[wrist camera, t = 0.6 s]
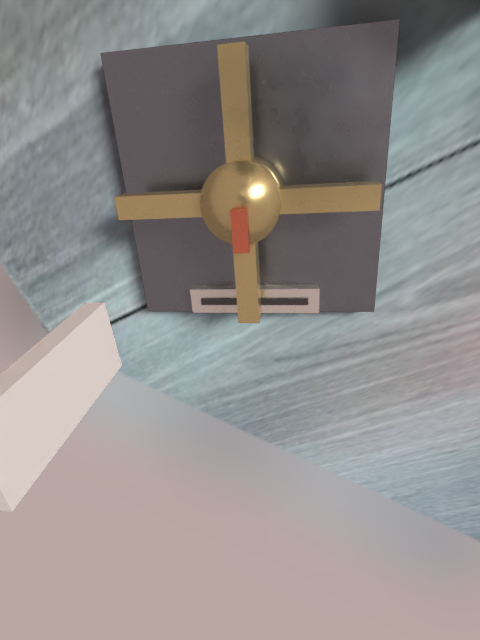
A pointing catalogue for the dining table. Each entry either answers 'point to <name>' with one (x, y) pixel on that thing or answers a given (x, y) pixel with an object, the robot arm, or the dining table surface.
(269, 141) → the stand
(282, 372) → the dining table surface
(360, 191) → the capstan
